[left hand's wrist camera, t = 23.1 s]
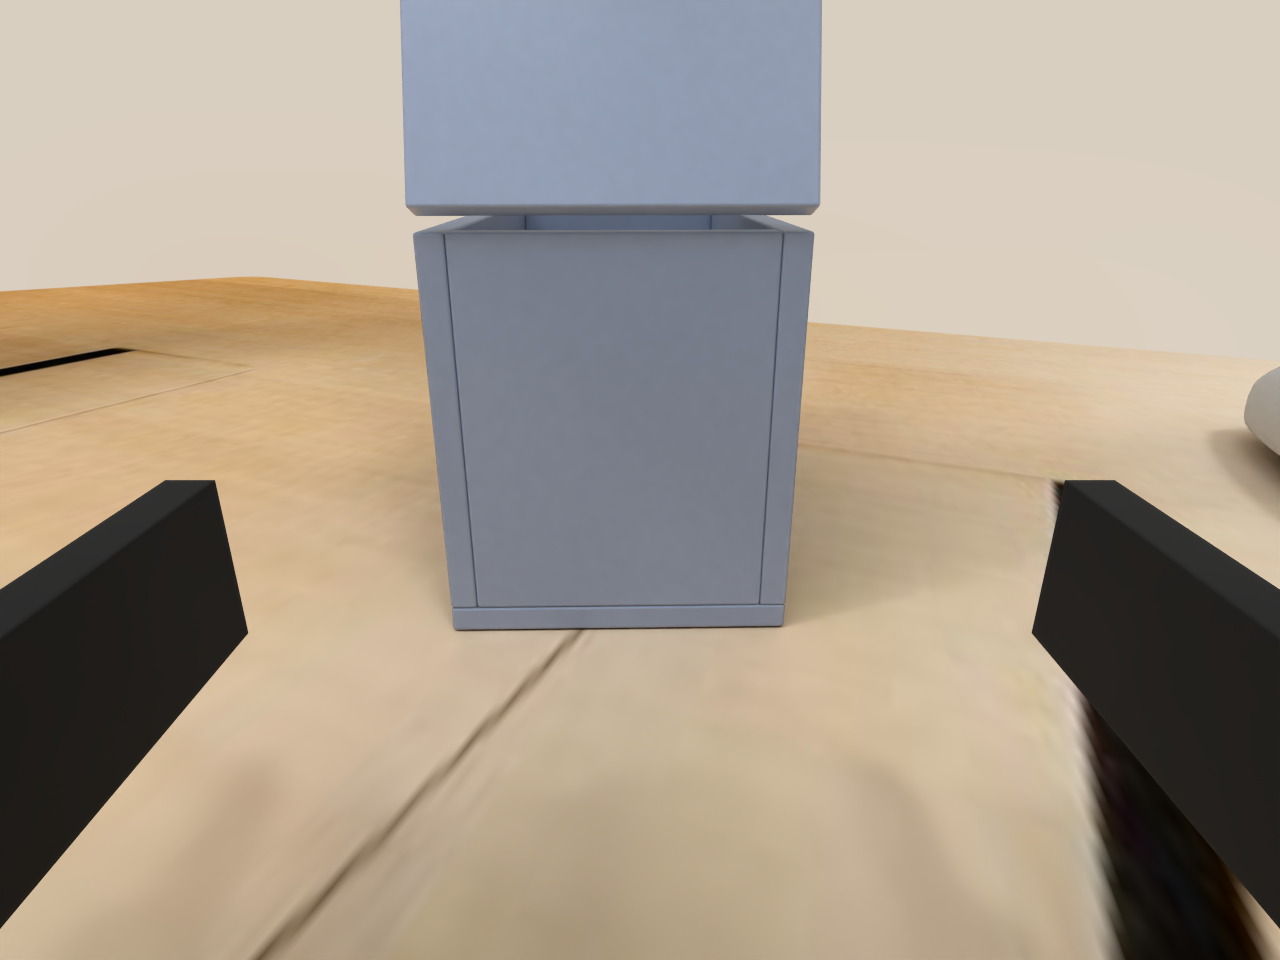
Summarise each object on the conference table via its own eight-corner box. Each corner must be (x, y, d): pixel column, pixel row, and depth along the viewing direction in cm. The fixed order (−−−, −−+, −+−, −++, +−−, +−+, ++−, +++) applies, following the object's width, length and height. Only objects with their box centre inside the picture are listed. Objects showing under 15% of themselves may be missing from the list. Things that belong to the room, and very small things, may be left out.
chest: (523, 439, 39) (509, 201, 35) (717, 438, 39) (727, 201, 35) (453, 631, 23) (411, 232, 19) (783, 626, 23) (814, 231, 19)
